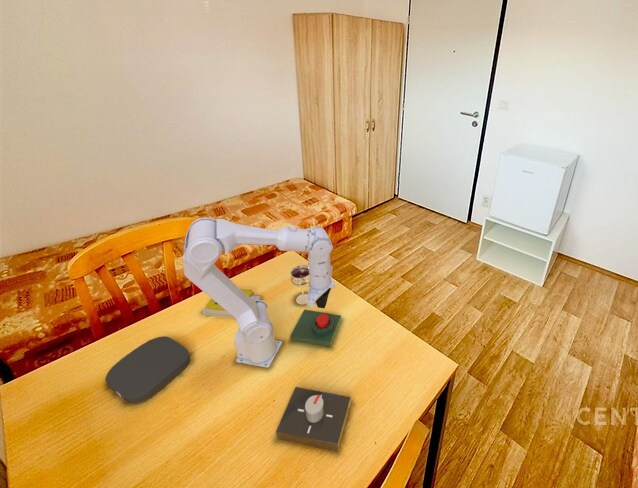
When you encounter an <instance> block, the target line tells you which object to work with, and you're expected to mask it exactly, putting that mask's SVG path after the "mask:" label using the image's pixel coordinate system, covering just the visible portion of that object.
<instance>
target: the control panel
mask: <svg viewBox="0 0 638 488" xmlns="http://www.w3.org/2000/svg"><path fill="white" fill-rule="evenodd" d="M314 395H320V397H321V398H322V399H323V404H324V414H323V417H322V418H321V419H320V420H319V421H318V422H315V423H312V422H309V421H308V420H307V418H306V410H305V404H306V401H307V400H308V399H309V398H310V397H311V396H314ZM351 400H352V399H351V396H347V395H341V394H337V393H331V392H325V391H321V390H315V389H310V388H303V387H299V386H294V388H293V392H292V394H291V396H290V399H289V400H288V403H287V405H286V408H285V410H284V412H283V414H282V417H281V419H280V421H279V423H278V426H277V428H276V430H275V434H276V439H277V440H280V441H285V442H290V443H295V444H300V445H304V446H309V447H314V448H319V449H322V450H323V449H324V450H329V451H333V452H339V448H340V446H341V442H342V437H343V434H344V431H345V427H346V423H347V421H348V420H347V419H348V416H349V412H350V409H351V402H352V401H351Z"/></svg>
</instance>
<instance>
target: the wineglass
mask: <svg viewBox="0 0 638 488" xmlns="http://www.w3.org/2000/svg"><path fill="white" fill-rule="evenodd" d="M289 274H290V277H289V278H290V282H291V283H292V285H293V286H296V287H300V289H301V294H299V295H297V297H296V300H295V301H296V303H297V304H298V305H307V299H308V294H309V293H305V289H304V288H305V286H307V285H309V282H310V278H309V265H307V264H299V265H296V266H294V267H293V268H291V270H290V272H289Z"/></svg>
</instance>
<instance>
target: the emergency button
mask: <svg viewBox="0 0 638 488" xmlns="http://www.w3.org/2000/svg"><path fill="white" fill-rule="evenodd" d="M240 289H241V290H242V291H243V292H244V293H245V294H246V295H247V296H248V297H252V296H254V297H255V298H256V299H258V300H261V299H262V297H261V295H258V294H255V293H254V291H253V289H249V288H240ZM201 312H202V314H203V315H204V316H212V317H213V316H214V317H222V318H223V317H224V318H231V319H232V318H233V319H235V317H233V316H232V315H231V314H230V313H229V312H227V311H226V310H225V309H224V308H223V307H221V306H220V305H219V304H218V303H217V302H215V301H214V300H213V299H212V298H211V297H210V300H208V301H207V303H206V305H205V307H204V308H203V310H202V311H201Z"/></svg>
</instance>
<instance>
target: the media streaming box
mask: <svg viewBox="0 0 638 488" xmlns="http://www.w3.org/2000/svg"><path fill="white" fill-rule="evenodd" d="M190 361H191V356H190V353H189V350H188V349H187V348H186V347H185V346H184V345H183V344H181V343H180V342H178V341H177V340H175V339H173V338H171V337H169V336H158V337H154V338H152V339H149V340H147V341H145V342H144V343H142V344H141V345H139V346H137V347H136V348H135V349H133V350H132V351H130V352H129V353H126V355H125V356H123V357H122V358H121V359H119V361H117V362H116V363H115V364H114V365H112V366H111V368H109V370H108V371H107V373H106V376H105V382H106V385H107V386H108V388H109V389H110V390H111V391H112V392H113V393H115V394H116V395H117V396H118V397H119V398H120V399H122V400H123V401H124V402H126V403H128V404H130V405H137V404H142V403H143V402H146V401H147V400H149V399H151V398H152V397H154V396H155V394H157V393H158V392H159V391H160V390H162V389H163V388H164V387H165V386H167V385H168V384H170V383H171V382H172V380H174V379H175V378H176V377H177V376H178V375H180V374H181V373H182V372H183V371H184V370H185V369H186V368H187V367H188V365H189V363H190Z"/></svg>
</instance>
